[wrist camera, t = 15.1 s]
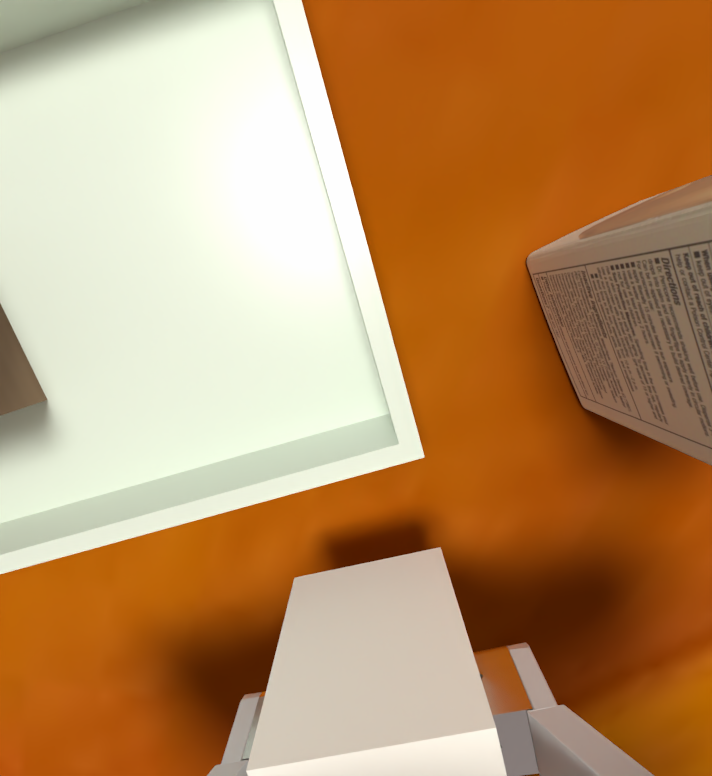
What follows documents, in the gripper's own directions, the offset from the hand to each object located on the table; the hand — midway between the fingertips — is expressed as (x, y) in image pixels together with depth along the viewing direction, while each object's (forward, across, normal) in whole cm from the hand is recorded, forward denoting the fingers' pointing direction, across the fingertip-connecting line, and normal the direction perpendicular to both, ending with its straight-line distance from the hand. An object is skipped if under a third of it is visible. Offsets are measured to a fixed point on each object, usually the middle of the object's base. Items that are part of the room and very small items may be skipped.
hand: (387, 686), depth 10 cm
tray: (+5, +8, -12) cm, 16 cm away
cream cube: (+2, 0, 0) cm, 2 cm away
